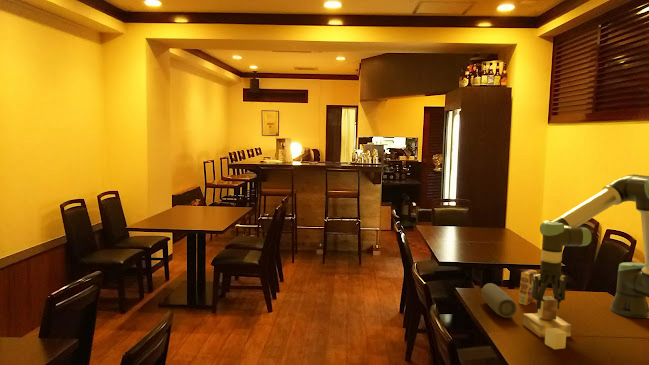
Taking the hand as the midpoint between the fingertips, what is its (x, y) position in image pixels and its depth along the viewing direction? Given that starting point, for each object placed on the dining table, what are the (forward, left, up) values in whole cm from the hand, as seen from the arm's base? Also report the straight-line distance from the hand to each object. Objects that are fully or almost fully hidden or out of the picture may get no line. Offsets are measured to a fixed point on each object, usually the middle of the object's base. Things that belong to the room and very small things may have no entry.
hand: (546, 316), depth 197 cm
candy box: (-7, -33, -6) cm, 34 cm away
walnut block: (0, 0, 0) cm, 0 cm away
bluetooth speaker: (+12, -21, -6) cm, 25 cm away
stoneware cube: (+4, +15, -6) cm, 17 cm away
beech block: (0, 0, -6) cm, 6 cm away
